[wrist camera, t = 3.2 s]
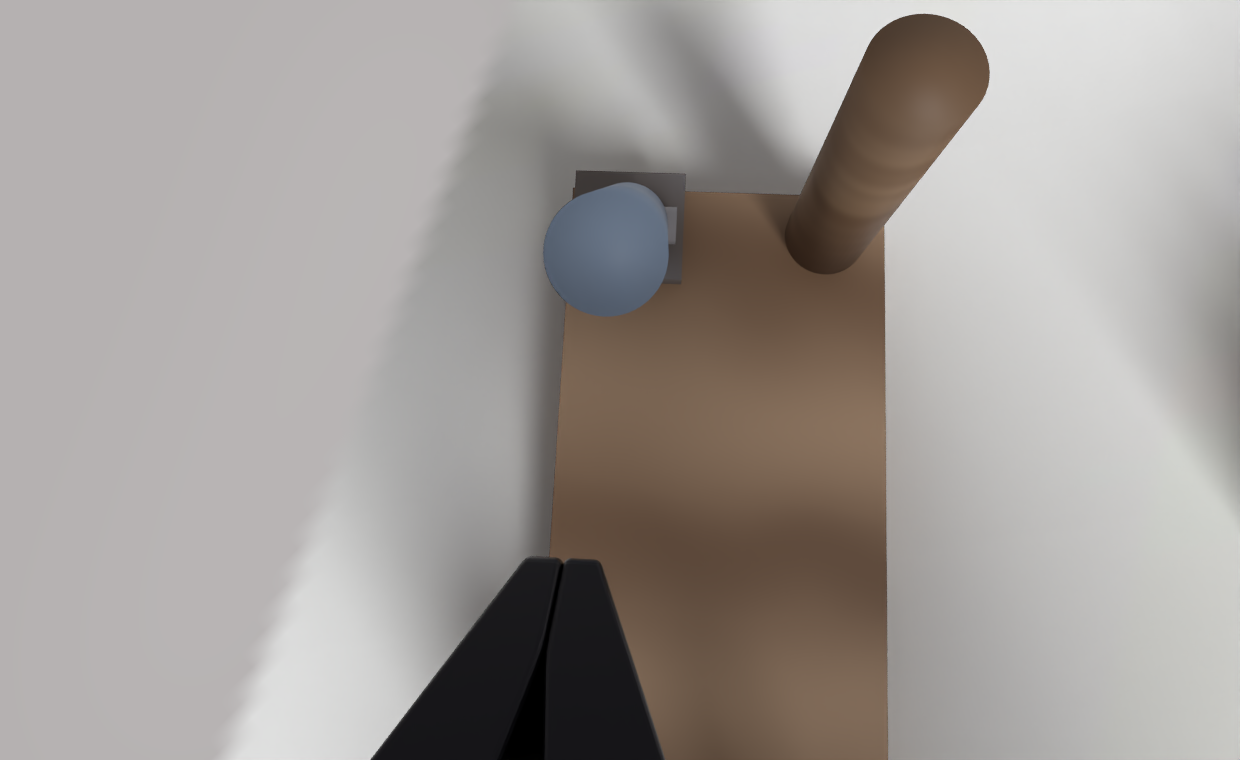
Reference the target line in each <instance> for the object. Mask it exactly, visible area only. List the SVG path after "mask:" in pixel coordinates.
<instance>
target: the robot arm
mask: <svg viewBox="0 0 1240 760" xmlns="http://www.w3.org/2000/svg"><path fill="white" fill-rule="evenodd" d="M371 760H666V759H665V756H664V753H663V750H662V747H661V744H660V741H659V738H658V735H657V732H656V729H655V726H654V723H653V720H652V716H651V713H650V710H649V707H648V704H647V701H646V698H645V695H644V692H643V689H642V686H641V683H640V680H639V677H638V673H637V670H636V667H635V664H634V661H633V658H632V655H631V652H630V649H629V646H628V643H627V640H626V637H625V634H624V630H623V627H622V624H621V621H620V618H619V615H618V612H617V609H616V606H615V603H614V600H613V597H612V594H611V591H610V587H609V584H608V581H607V578H606V575H605V572H604V569H603V566H602V564H601V563H600V561H598V560H596V559H579V558H569V559H567V560H565V562H564V563H563V561H562V560H561V559H560V558H557V557H539V556H531V557H528V558H526V559H525V560H524V561H523V562H522V563H521V564H520V566H519V567H518V568H517V569H516V571H515V572H514V573H513V575H512V576H511V577H510V579H509V580H508V581H507V583H506V584H505V585H504V586H503V588H502V589H501V590H500V592H499V593H498V594H497V596H496V597H495V598H494V599H493V601H492V602H491V603H490V605H489V606H488V607H487V609H486V610H485V611H484V612H483V614H482V615H481V616H480V618H479V619H478V620H477V622H476V623H475V624H474V626H473V627H472V628H471V629H470V631H469V632H468V633H467V635H466V636H465V637H464V639H463V640H462V641H461V642H460V644H459V645H458V646H457V648H456V649H455V650H454V652H453V653H452V654H451V656H450V657H449V658H448V659H447V661H446V662H445V663H444V665H443V666H442V667H441V669H440V670H439V671H438V672H437V674H436V675H435V676H434V678H433V679H432V680H431V682H430V683H429V684H428V685H427V687H426V688H425V689H424V691H423V692H422V693H421V695H420V696H419V697H418V699H417V700H416V701H415V702H414V704H413V705H412V706H411V708H410V709H409V710H408V712H407V713H406V714H405V715H404V717H403V718H402V719H401V721H400V722H399V723H398V725H397V726H396V727H395V729H394V730H393V731H392V732H391V734H390V735H389V736H388V738H387V739H386V740H385V742H384V743H383V744H382V745H381V747H380V748H379V749H378V751H377V752H376V753H375V755H374V756H373V757H372V759H371Z"/></svg>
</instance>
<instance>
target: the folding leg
mask: <svg viewBox="0 0 1240 760" xmlns="http://www.w3.org/2000/svg"><path fill="white" fill-rule="evenodd" d="M676 224H677V207H664V205H663V203H662V202H661V200H660V199H659V197H658V196H657V195H656V194H655V193H654V192H653V191H651V190H650V189H649V188H647V187H645V186H643V185H640V184H636V183H630V182H623V183H617V184H614V185H611V186H608V187H605V188H601V189H598V190H595V191H592V192H589V193H586V194H583V195H581V196H578V197H576V198H574V199H573V200H571V201H570V202H568V203H567V204H566V205H565V206H564V207H563V208H562V209H561V210H560V211H559V212H558V213H557V214H556V216H555V217H554V219H553V220H552V222H551V224H550V226H549V228H548V231H547V233H546V237H545V241H544V251H543V255H544V264H545V269H546V272H547V275H548V278H549V280H550V282H551V284H552V286H553V287H554V289H555V290H556V292H557V293H558V294H559V295H560V296H561V297H562V298H563V299H564V300H565V301H566V302H567V303H568V304H570V305H571V306H573V307H574V308H576V309H578V310H580V311H582V312H585V313H587V314H591V315H595V316H603V317H610V316H618V315H623V314H626V313H629V312H631V311H633V310H636V309H637V308H639V307H641V306H642V305H643V304H645V303H646V302H647V301H648V300H649V299H650V298H651V297H652V296H653V295H654V294H655V293H656V291H657V290H658V289H659V287H660V285H661V283H662V281H663V279H664V276H665V274H666V270H667V266H668V258H669V250H668V244H675V242H676Z"/></svg>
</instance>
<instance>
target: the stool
mask: <svg viewBox="0 0 1240 760" xmlns="http://www.w3.org/2000/svg"><path fill="white" fill-rule="evenodd" d="M989 73H990V71H989V63H988V59H987V56H986V53H985V51H984V49H983V47H982V45H981V44H980V42H979V41H978V40H977V38H976V37H975V36H974V35H973V34H972V33H971V32H970V31H969V30H968V29H966V28H965V27H964V26H962V25H961V24H959V23H957V22H955V21H953V20H951V19H949V18H946V17H942V16H938V15H933V14H915V15H909V16H905V17H902V18H899V19H897V20H894V21H893V22H891V23H889V24H887V25H886V26H885V27H883V28H882V29H881V30H880V31H879V32H878V33H877V34H876V35H875V36H874V38H873V39H872V40H871V42H870V44H869V46H868V48H867V50H866V52H865V54H864V56H863V59H862V61H861V63H860V65H859V67H858V69H857V72H856V74H855V76H854V78H853V80H852V83H851V85H850V87H849V89H848V91H847V94H846V96H845V98H844V100H843V102H842V105H841V107H840V109H839V111H838V113H837V115H836V118H835V120H834V122H833V124H832V126H831V129H830V131H829V133H828V135H827V137H826V140H825V142H824V144H823V146H822V148H821V151H820V153H819V155H818V157H817V159H816V161H815V164H814V166H813V168H812V170H811V172H810V175H809V177H808V179H807V181H806V183H805V186H804V188H803V190H802V192H801V194H800V195H780V194H748V193H717V192H686V191H685V177H686V174H671V173H639V172H607V171H576V183H575V188H573V199H574V198H576V197H578V196H581V195H583V194H586V193H589V192H592V191H595V190H598V189H601V188H605V187H608V186H611V185H614V184H617V183H623V182H630V183H636V184H640V185H643V186H645V187H647V188H649V189H650V190H651V191H653V192H654V193H655V194H656V195H657V196H658V197H659V199H660V200H661V202H662V203H663V205H664V207H677V224H676V242H675V244H668V250H669V258H668V266H667V270H666V274H665V276H664V279H663V281H662V283H661V285H660V287H659V289H658V290H657V291H656V293H655V294H654V295H653V296H652V297H651V298H650V299H649V300H648V301H647V302H646V303H645V304H643V305H642V306H641V307H639V308H637V309H636V310H633V311H631V312H629V313H626V314H623V315H618V316H610V317H603V316H595V315H591V314H587V313H585V312H582V311H580V310H578V309H576V308H574V307H573V306H571V305H570V304H568V303H567V302H566V307H565V322H564V338H563V353H562V369H561V384H560V399H559V415H558V430H557V446H556V461H555V477H554V492H553V508H552V523H551V539H550V554H549V557H557V558H560V559H561V560H562V561H563V563H564V562H565V560H567V559H569V558H579V559H596V560H598V561H600V563H601V564H602V566H603V569H604V572H605V575H606V578H607V581H608V584H609V587H610V591H611V594H612V597H613V600H614V603H615V606H616V609H617V612H618V615H619V618H620V621H621V624H622V627H623V630H624V634H625V637H626V640H627V643H628V646H629V649H630V652H631V655H632V658H633V661H634V664H635V667H636V670H637V673H638V677H639V680H640V683H641V686H642V689H643V692H644V695H645V698H646V701H647V704H648V707H649V710H650V713H651V716H652V720H653V723H654V726H655V729H656V732H657V735H658V738H659V741H660V744H661V747H662V750H663V753H664V756H665V759H666V760H888V707H887V561H886V416H885V270H884V225H885V223H886V222H887V221H888V220H889V218H890V217H891V216H892V214H893V213H894V212H895V211H896V209H897V208H898V207H899V206H900V204H901V203H902V202H903V200H904V199H905V198H906V197H907V195H908V194H909V193H910V192H911V190H912V189H913V188H914V187H915V185H916V184H917V183H918V181H919V180H920V179H921V178H922V176H923V175H924V174H925V173H926V171H927V170H928V169H929V167H930V166H931V165H932V164H933V162H934V161H935V160H936V159H937V157H938V156H939V155H940V153H941V152H942V151H943V150H944V148H945V147H946V146H947V145H948V143H949V142H950V141H951V139H952V138H953V137H954V136H955V134H956V133H957V132H958V131H959V129H960V128H961V127H962V125H963V124H964V123H965V122H966V120H967V119H968V118H969V117H970V115H971V114H972V113H973V112H974V110H975V109H976V108H977V106H978V105H979V104H980V102H981V101H982V99H983V97H984V95H985V93H986V90H987V88H988V83H989ZM573 199H572V200H573Z"/></svg>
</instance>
